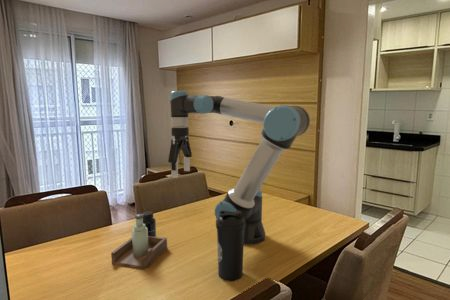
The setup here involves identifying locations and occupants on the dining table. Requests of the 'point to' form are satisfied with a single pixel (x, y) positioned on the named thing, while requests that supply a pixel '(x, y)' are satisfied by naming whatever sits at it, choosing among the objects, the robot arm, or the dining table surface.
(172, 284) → the dining table surface
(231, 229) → the water bottle
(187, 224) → the dining table surface
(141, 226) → the bottle
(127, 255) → the u rest
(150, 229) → the supplement bottle
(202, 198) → the dining table surface
